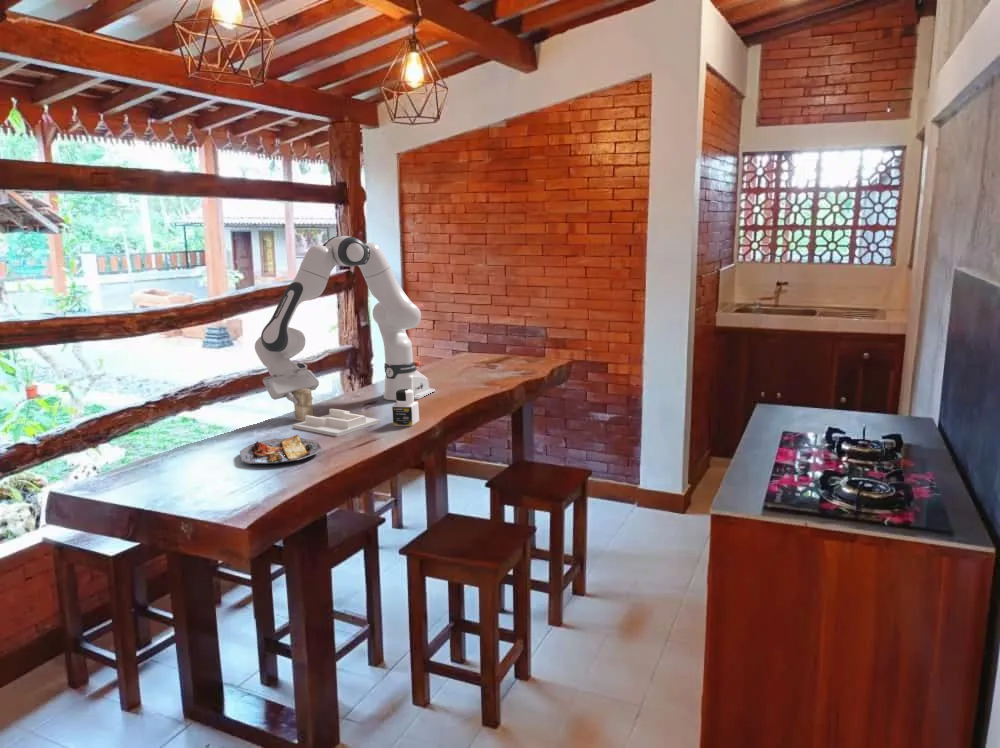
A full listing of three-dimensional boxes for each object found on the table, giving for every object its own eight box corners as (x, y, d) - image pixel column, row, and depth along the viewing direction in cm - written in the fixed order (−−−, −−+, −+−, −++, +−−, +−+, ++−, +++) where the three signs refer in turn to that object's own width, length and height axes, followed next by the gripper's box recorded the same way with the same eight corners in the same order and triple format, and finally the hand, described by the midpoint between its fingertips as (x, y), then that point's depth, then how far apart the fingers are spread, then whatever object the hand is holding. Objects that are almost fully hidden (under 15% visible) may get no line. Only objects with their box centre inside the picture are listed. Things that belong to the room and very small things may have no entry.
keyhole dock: (336, 415, 272) (335, 405, 271) (379, 422, 260) (379, 412, 259) (293, 428, 256) (292, 417, 255) (337, 436, 244) (336, 425, 243)
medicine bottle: (393, 425, 255) (391, 392, 253) (400, 420, 262) (398, 387, 260) (412, 426, 253) (410, 392, 251) (419, 421, 260) (417, 387, 258)
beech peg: (305, 417, 271) (302, 388, 268) (313, 418, 268) (311, 389, 266) (295, 420, 267) (292, 390, 265) (303, 421, 264) (301, 391, 262)
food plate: (239, 448, 233) (238, 438, 232) (314, 440, 241) (313, 430, 240) (242, 474, 210) (241, 462, 209) (325, 464, 218) (324, 452, 217)
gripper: (263, 372, 259) (284, 402, 256) (309, 362, 276) (329, 391, 272) (257, 383, 263) (277, 413, 259) (302, 373, 279) (321, 401, 276)
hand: (304, 401), depth 266 cm, fingers closed on beech peg, 4 cm apart
